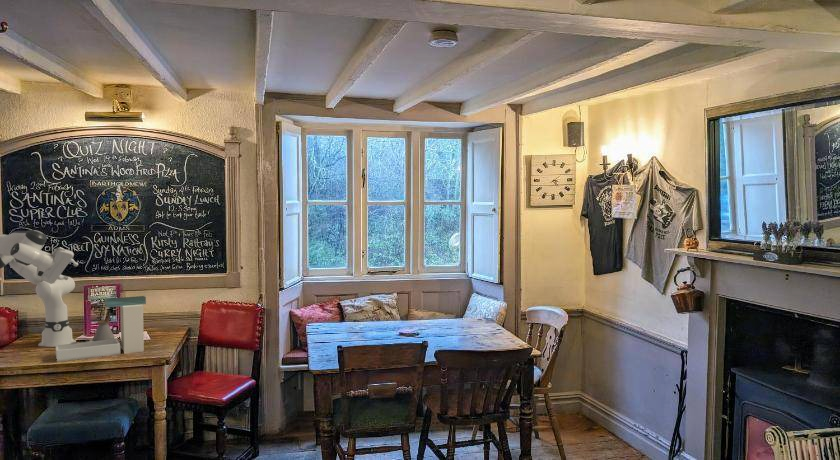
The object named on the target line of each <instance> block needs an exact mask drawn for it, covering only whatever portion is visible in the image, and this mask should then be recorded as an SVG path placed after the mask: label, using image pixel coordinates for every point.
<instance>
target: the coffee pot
mask: <svg viewBox="0 0 840 460" xmlns="http://www.w3.org/2000/svg"><path fill="white" fill-rule="evenodd" d="M112 316H113V314H112V313H111V312H110V313H108V316H107V317H106V320H105V319H103V320H98V321H97V324H98V326H97V328H96V330H95V333H94V335H93V337H92V340H93V341H101V340H110V339H116V338H115V337H116V336H115V335H114V333H113V331H112V328H111V326H110V325H109V323H110V322H111V321H110V319H111V317H112Z"/></svg>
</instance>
